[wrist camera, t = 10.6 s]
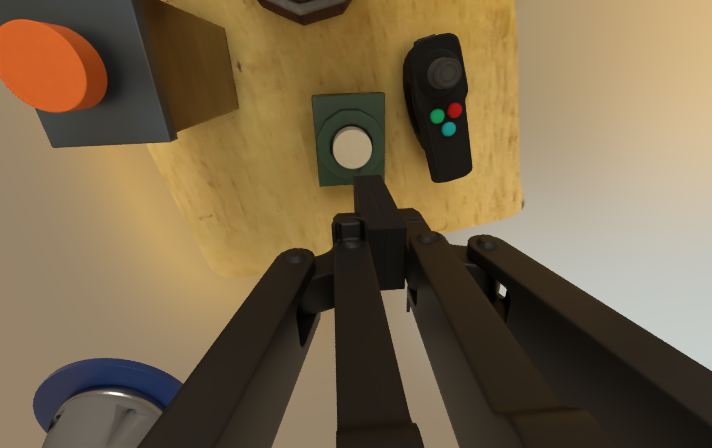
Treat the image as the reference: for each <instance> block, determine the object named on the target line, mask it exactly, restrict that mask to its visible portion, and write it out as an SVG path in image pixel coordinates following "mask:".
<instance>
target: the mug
mask: <svg viewBox="0 0 712 448" xmlns="http://www.w3.org/2000/svg"><path fill="white" fill-rule="evenodd" d="M351 1H352V0H258V2H259V3H260V4H261V5H262V6H263V7H264V8H266V9H268V10H270V11H273V12H275V13H277V14H279V15H281V16H284V17H286V18H288V19H290V20H293V21H295V22H297V23H299V24H302V25H307V24H310V23H313V22H317V21H320V20H323V19H327V18H330V17H333V16H337V15H340V14H343V13H344V11H345V10H346V8H347V7H348V5H349V4H350V2H351Z"/></svg>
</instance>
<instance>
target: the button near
mask: <svg viewBox="0 0 712 448" xmlns="http://www.w3.org/2000/svg"><path fill="white" fill-rule="evenodd" d="M0 78H1V79H2V81H3V82H4V83H5V85H6V86H7V87H8V88H9V89H10V90H11V91H12V93H14V94H15V95H16V96H17V97H18V98H20V99H21V100H22V101H24V102H25V103H27V104H29V105H31V106H33V107H35V108H37V109H40V110H43V111H47V112H53V113H61V112H69V111H76V110H83V109H88V108H91V107H93V106H95V105H96V104H98V103H99V102H100V101H101V100H102V98H103V97H104V95H105V93H106V89H107V73H106V70H105V66H104V64H103V62H102V60H101V58H100V56H99V54H98V53H97V51H96V50H95V49H94V48H93V46H92V45H91V44H90V43H89V42H88V41H87V40H85V39H84V38H83V37H82V36H80V35H79V34H78V33H76V32H74V31H72V30H70V29H68V28H66V27H63V26H60V25H54V24H49V23H43V22H38V21H32V20H25V19H19V20H13V21H9V22H7V23H5V24H3V25H2V26H1V27H0Z"/></svg>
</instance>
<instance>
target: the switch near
mask: <svg viewBox="0 0 712 448" xmlns="http://www.w3.org/2000/svg"><path fill="white" fill-rule="evenodd" d="M19 19H25V20H32V21H38V22H43V23H49V24H54V25H60V26H63V27H66V28H68V29H70V30H72V31H74V32H76V33H78V34H79V35H80V36H82V37H83V38H84V39H85V40H87V41H88V42H89V43H90V44H91V45H92V46H93V48H94V49H95V50H96V51H97V53H98V54H99V56H100V58H101V60H102V62H103V64H104V66H105V70H106V73H107V89H106V93H105V95H104V97H103V98H102V100H101V101H100V102H99V103H98V104H96V105H95V106H93V107H91V108H88V109H83V110H76V111H69V112H61V113H53V112H47V111H43V110H40V109H37V108H35V109H36V111H37V114H38V116H39V118H40V121H41V123H42V125H43V127H44V130H45V132H46V134H47V136H48V139H49V141H50V143H51V146H52V147H53V148H59V147H80V146H100V145H119V144H120V145H121V144H141V143H162V142H172V141H174V140H176V139H178V137H177V133H176V132H179V131H181V130H184V129H187V128H189V127H192V126H195V125H197V124H200V123H202V122H205V121H208V120H210V119H213V118H216V117H218V116H221V115H223V114H226V113H229V112H231V111H234V110H237V109H239V106H238V100H237V95H236V89H235V84H234V78H233V73H232V67H231V62H230V56H229V51H228V46H227V40H226V35H225V29H224V28H222V27H220V26H218V25H215V24H213V23H211V22H209V21H206V20H204V19H202V18H199V17H197V16H195V15H192V14H190V13H188V12H185V11H183V10H181V9H178V8H176V7H174V6H172V5H169V4H167V3H165V2H162V1H160V0H0V27H1V26H2V25H3V24H5V23H7V22H9V21H13V20H19Z"/></svg>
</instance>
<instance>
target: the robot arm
mask: <svg viewBox="0 0 712 448" xmlns="http://www.w3.org/2000/svg"><path fill="white" fill-rule="evenodd" d="M353 185H354V210H355V213H338V214H337V215H336V216H335V217H334V218H333V222H332V224H331V225H332V238H333V247H332V249H331V250H330V251H328V252H327V253H325V254H322V255H319V256H314V254H313V252H312V251H310V250H308V249H303V248H293V249H289V250H287V251H285V252H282V253H281V254H280V255H279V256H277V258H276V259H275V260H274V262H273V263H272V264H271V266H270V267H269V268H268V270H267V271H266V273H265V274H264V275H263V277H262V278H261V279H260V281H259V282H258V283H257V285H256V286H255V288H254V289H253V290H252V292H251V293H250V295H249V296H248V297H247V298H246V300H245V301H244V303H243V304H242V305H241V307H240V308H239V309H238V311H237V312H236V313H235V315H234V316H233V318H232V319H231V320H230V322H229V323H228V324H227V326H226V327H225V329H224V330H223V331H222V332H221V334H220V335H219V337H218V338H217V339H216V341H215V342H214V343H213V345H212V346H211V347H210V349H209V350H208V351H207V353H206V354H205V356H204V357H203V358H202V360H201V361H200V362H199V364H198V365H197V366H196V368H195V369H194V371H193V372H192V373H191V374H190V376H189V377H188V379H187V380H186V381H185V383H184V384H183V385H182V387H181V388H180V389H179V391H178V392H177V393H176V395H175V396H174V398H173V399H172V400H171V402H170V403H169V404H168V406H167V407H165V406H164V405H163V404H162V403H161V402H160V401H159V400H158V399H156V398H155V397H153V396H151V395H150V394H148V393H146V392H143V391H141V390H138V389H135V388H131V387H127V386H122V385H111V384H104V385H94V386H89V387H86V388H83V389H80V390H78V391H76V392H74V393H73V394H72V395H70V396H69V397H68V398H67V400H66V401H65V402H64V403H63V405H62V406H61V407H60V408H59V410H58V411H57V413H56V415H55V417H54V419H53V421H52V419H51V422H50V424H49V427H48V434H47V436H46V439H45V441H44V443H43V446H42V448H271V447H272V445H273V442H274V439H275V437H276V434H277V431H278V429H279V426H280V423H281V421H282V418H283V415H284V413H285V410H286V407H287V405H288V402H289V400H290V397H291V394H292V392H293V389H294V386H295V384H296V381H297V378H298V376H299V373H300V371H301V368H302V365H303V362H304V360H305V357H306V355H307V352H308V349H309V347H310V344H311V341H312V339H313V336H314V334H315V331H316V328H317V326H318V323H319V320H320V315H321V313H320V312H323V311H326V310H329V309H332V308H335V344H336V345H335V348H336V387H337V431H336V448H424V445H423V441H422V437H421V434H420V431H419V428H418V426H417V424H416V423H412V420H411V418H410V414H409V410H408V406H407V402H406V398H405V394H404V390H403V385H402V381H401V377H400V372H399V368H398V364H397V360H396V355H395V351H394V347H393V343H392V339H391V334H390V330H389V326H388V322H387V318H386V313H385V309H384V305H383V301H382V296H381V292H380V291H381V290H395V289H404V288H405V279H406V281H407V283H408V286H407V312H409V311H410V307H411V308H412V311H413V314H414V317H415V320H416V323H417V326H418V329H419V332H420V335H421V338H422V340H423V343H424V346H425V349H426V352H427V355H428V358H429V361H430V363H431V367H432V369H433V372H434V375H435V378H436V381H437V384H438V387H439V390H440V393H441V396H442V399H443V401H444V404H445V407H446V410H447V413H448V416H449V419H450V422H451V424H452V428H453V430H454V433H455V436H456V439H457V442H458V445H459V448H712V371H711V370H709V369H707V368H706V367H704V366H702V365H701V364H699V363H698V362H696V361H695V360H693V359H691V358H690V357H688V356H687V355H685V354H683V353H682V352H680V351H679V350H677V349H675V348H674V347H672V346H671V345H669V344H667V343H666V342H664V341H663V340H661V339H659V338H658V337H656V336H654V335H653V334H651V333H650V332H648V331H647V330H645V329H643V328H642V327H640V326H639V325H637V324H636V323H634V322H632V321H631V320H629V319H627V318H626V317H624V316H623V315H621V314H619V313H618V312H616V311H615V310H613V309H612V308H610V307H608V306H607V305H605V304H604V303H602V302H600V301H599V300H597V299H596V298H594V297H593V296H591V295H589V294H588V293H586V292H585V291H583V290H581V289H580V288H578V287H577V286H575V285H573V284H572V283H570V282H569V281H567V280H565V279H564V278H562V277H561V276H559V275H557V274H556V273H554V272H553V271H551V270H549V269H548V268H546V267H545V266H543V265H541V264H540V263H538V262H537V261H535V260H533V259H532V258H530V257H529V256H527V255H526V254H524V253H522V252H521V251H519V250H518V249H516V248H514V247H513V246H511V245H510V244H508V243H506V242H505V241H503V240H501V239H499V238H497V237H493V236H491V235H476V236H473V237H471V238H469V240H468V244H467V246H459V245H452V244H449V243H448V241H447V240H446V238H445V237H444V236H443V235H442V234H440V233H438V232H435V231H431V229H430V228H429V226H428V225H427V223H426V222H425V220H424V219H423V218H422V216H421V214H420V212H418V211H416V210H415V209H413V208H406V209H398V208H397V206H396V204H395V202H394V200H393V198H392V196H391V194H390V192H389V190H388V188H387V186H386V184H385V183H384V181H383V179H382V177H381V175H366V176H353ZM500 284H502V285H503V286H504V287H505V288H506V289H507V291H506V296H505V297H503V296H502V295H501V294H499V289H500ZM51 424H52V425H51Z"/></svg>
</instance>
